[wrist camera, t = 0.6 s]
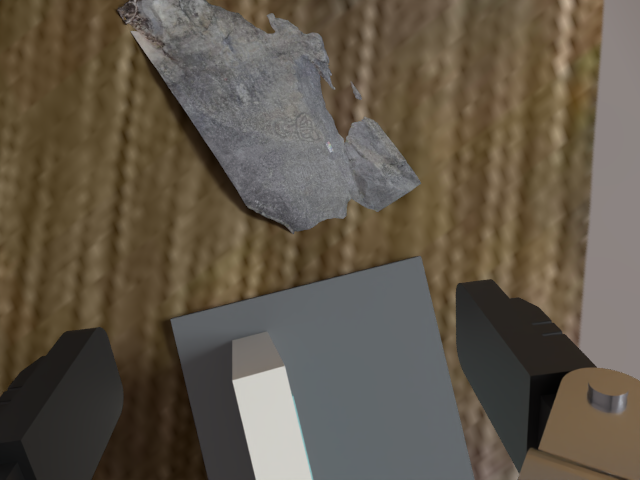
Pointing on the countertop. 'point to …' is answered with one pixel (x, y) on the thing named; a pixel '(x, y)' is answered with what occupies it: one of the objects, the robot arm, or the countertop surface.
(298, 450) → the flat white box
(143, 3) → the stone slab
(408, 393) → the rubber mat
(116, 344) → the countertop surface
